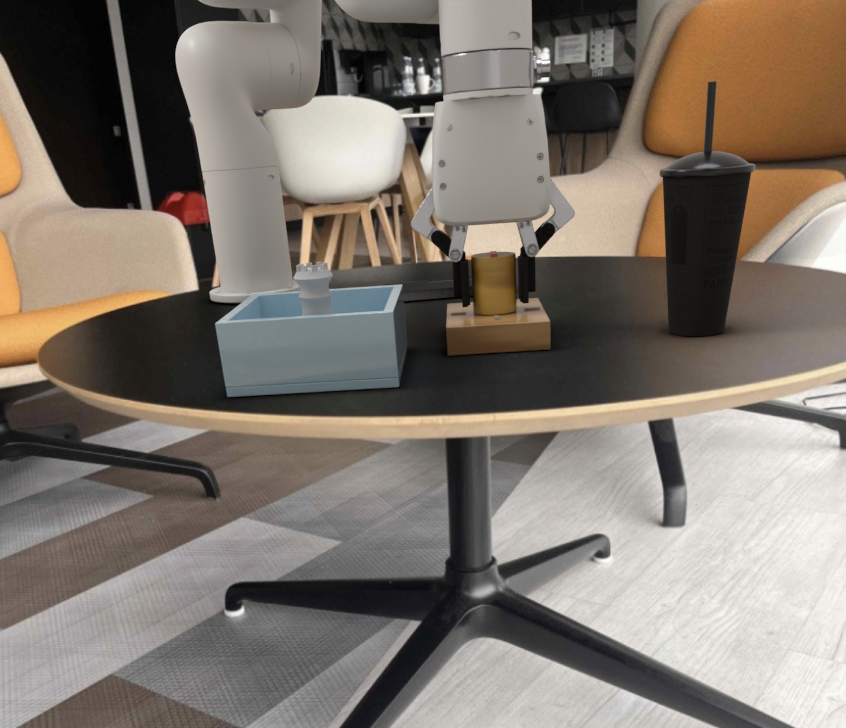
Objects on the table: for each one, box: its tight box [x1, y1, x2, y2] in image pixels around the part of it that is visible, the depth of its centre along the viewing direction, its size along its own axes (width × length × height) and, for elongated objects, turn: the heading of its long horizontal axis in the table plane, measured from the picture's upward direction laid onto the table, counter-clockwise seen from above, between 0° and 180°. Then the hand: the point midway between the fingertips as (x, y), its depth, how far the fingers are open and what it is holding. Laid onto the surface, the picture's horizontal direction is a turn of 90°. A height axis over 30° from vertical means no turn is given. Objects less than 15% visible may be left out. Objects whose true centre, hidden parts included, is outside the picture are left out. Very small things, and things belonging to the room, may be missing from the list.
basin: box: [214, 284, 408, 398], centre depth 73 cm, size 14×14×6 cm
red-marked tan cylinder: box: [470, 250, 518, 315], centre depth 79 cm, size 4×4×5 cm
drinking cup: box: [659, 80, 756, 337], centre depth 75 cm, size 8×8×20 cm
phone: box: [382, 276, 473, 302], centre depth 107 cm, size 8×1×15 cm
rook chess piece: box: [292, 261, 334, 316], centre depth 72 cm, size 4×4×8 cm
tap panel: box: [445, 297, 552, 357], centre depth 81 cm, size 12×9×3 cm
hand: (494, 300), depth 80 cm, fingers open, 4 cm apart
